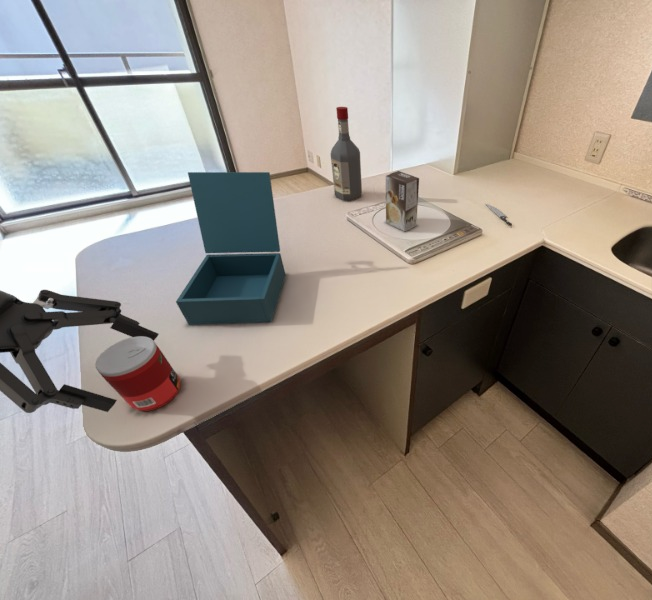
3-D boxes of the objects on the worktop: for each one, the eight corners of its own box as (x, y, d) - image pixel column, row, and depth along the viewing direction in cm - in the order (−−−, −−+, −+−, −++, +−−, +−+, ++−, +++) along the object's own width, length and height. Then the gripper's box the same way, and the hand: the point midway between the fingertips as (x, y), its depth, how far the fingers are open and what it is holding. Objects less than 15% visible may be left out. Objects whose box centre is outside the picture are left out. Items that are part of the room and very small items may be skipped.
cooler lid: (268, 172, 75) (274, 172, 79) (187, 172, 73) (197, 172, 77) (279, 251, 81) (283, 248, 86) (205, 253, 80) (213, 249, 84)
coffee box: (417, 225, 109) (420, 178, 99) (404, 232, 106) (407, 183, 95) (397, 216, 114) (398, 170, 103) (384, 222, 110) (384, 175, 100)
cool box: (271, 322, 73) (264, 298, 69) (188, 325, 72) (175, 301, 67) (285, 275, 86) (280, 253, 82) (216, 276, 85) (206, 254, 80)
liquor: (350, 189, 131) (344, 103, 111) (365, 196, 126) (361, 108, 106) (331, 195, 126) (322, 107, 106) (347, 203, 121) (339, 112, 101)
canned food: (191, 387, 60) (164, 347, 53) (145, 421, 55) (109, 382, 47) (167, 368, 63) (139, 328, 56) (122, 399, 57) (85, 359, 50)
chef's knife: (491, 203, 125) (484, 203, 124) (492, 200, 124) (485, 200, 123) (516, 226, 111) (509, 227, 110) (518, 223, 110) (510, 224, 109)
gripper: (23, 268, 54) (160, 327, 65) (-156, 402, 35) (79, 453, 46) (35, 240, 51) (177, 306, 62) (-153, 370, 32) (98, 432, 43)
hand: (135, 369), depth 54 cm, fingers open, 13 cm apart
